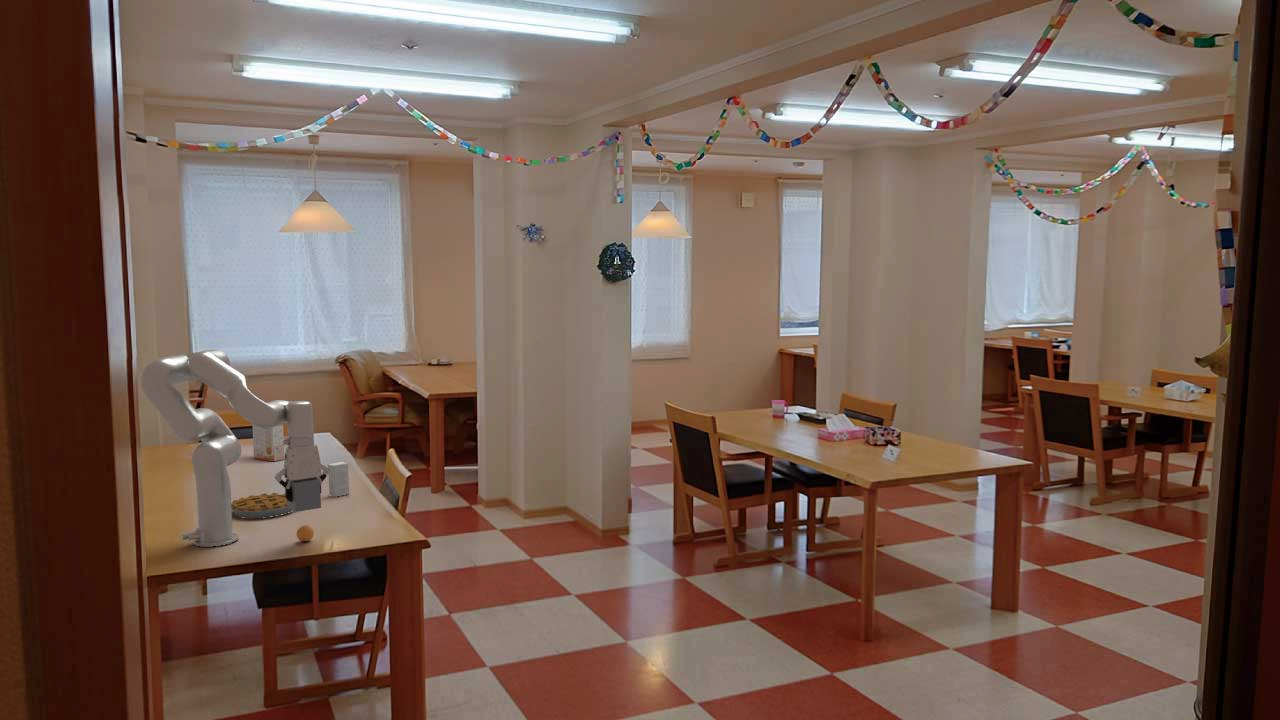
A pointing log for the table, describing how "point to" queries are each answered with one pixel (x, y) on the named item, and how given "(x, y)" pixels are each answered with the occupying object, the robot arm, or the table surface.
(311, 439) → the robot arm
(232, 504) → the pie
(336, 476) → the skincare box
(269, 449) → the cracker box
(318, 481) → the rounded grey cube
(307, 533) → the ball
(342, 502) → the table surface
